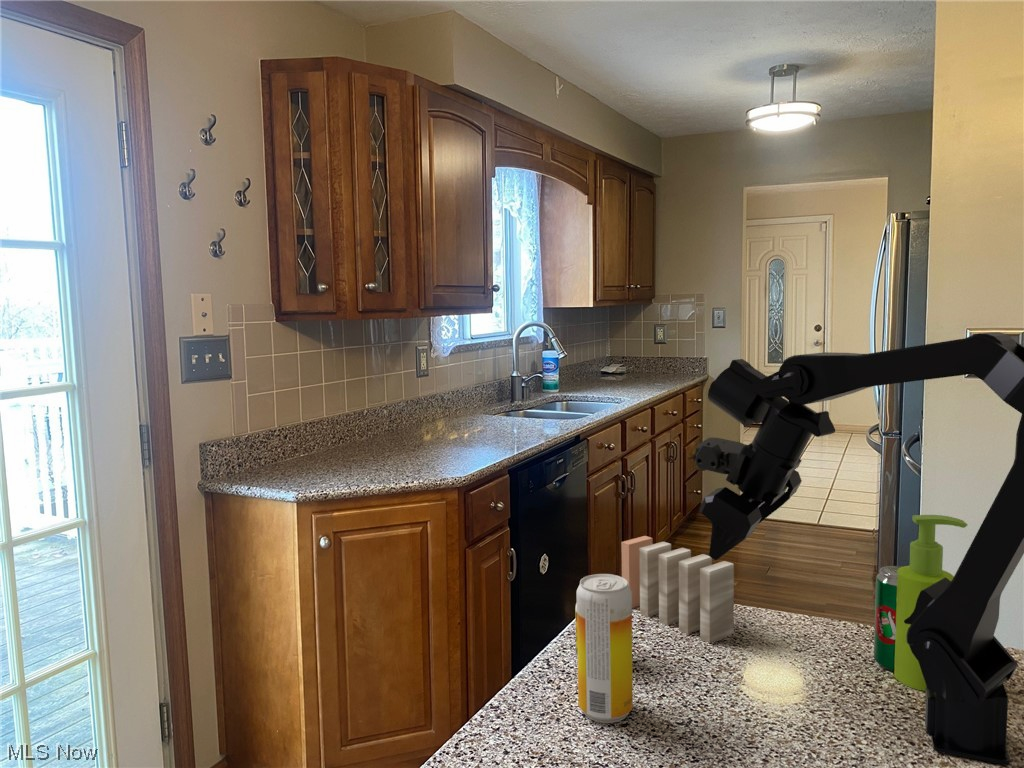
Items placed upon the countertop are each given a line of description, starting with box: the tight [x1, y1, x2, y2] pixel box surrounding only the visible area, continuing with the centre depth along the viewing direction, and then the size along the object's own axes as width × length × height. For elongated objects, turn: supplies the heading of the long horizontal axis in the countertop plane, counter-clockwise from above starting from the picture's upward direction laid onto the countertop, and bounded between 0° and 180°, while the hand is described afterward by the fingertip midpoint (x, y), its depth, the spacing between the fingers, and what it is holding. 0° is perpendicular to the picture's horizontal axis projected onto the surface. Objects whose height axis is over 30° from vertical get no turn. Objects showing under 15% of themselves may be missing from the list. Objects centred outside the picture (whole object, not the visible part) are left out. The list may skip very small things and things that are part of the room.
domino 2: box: [639, 541, 672, 618], centre depth 111 cm, size 2×5×10 cm, turn 125°
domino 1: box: [621, 535, 654, 609], centre depth 114 cm, size 2×5×10 cm, turn 125°
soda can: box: [873, 565, 901, 672], centre depth 93 cm, size 5×5×12 cm
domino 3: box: [658, 547, 692, 626], centre depth 108 cm, size 2×5×10 cm, turn 125°
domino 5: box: [699, 560, 735, 644], centre depth 102 cm, size 2×5×10 cm, turn 126°
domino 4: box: [678, 553, 713, 635], centre depth 105 cm, size 2×5×10 cm, turn 126°
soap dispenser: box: [893, 514, 968, 692], centre depth 88 cm, size 6×7×20 cm
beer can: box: [576, 573, 634, 724], centre depth 84 cm, size 6×6×15 cm
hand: (727, 544), depth 98 cm, fingers open, 9 cm apart
